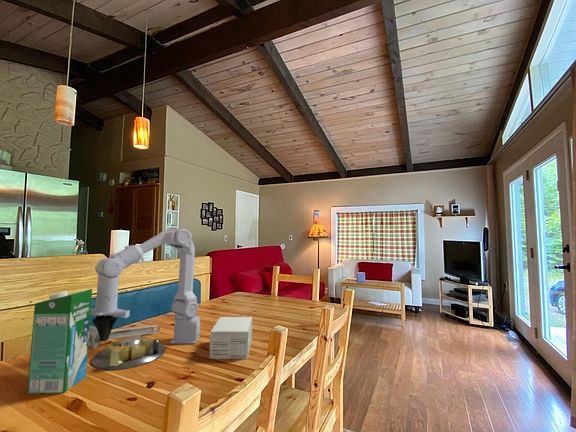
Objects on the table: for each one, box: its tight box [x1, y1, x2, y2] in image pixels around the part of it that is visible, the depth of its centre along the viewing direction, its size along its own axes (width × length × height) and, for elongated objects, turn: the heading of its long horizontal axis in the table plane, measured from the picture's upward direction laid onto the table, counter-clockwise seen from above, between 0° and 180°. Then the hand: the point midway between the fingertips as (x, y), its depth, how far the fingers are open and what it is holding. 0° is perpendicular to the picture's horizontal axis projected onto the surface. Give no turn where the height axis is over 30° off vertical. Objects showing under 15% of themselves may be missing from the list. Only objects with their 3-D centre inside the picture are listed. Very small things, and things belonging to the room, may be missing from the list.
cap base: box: [90, 336, 166, 371], centre depth 96 cm, size 22×22×5 cm
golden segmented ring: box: [107, 335, 154, 366], centre depth 94 cm, size 13×17×4 cm
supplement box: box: [209, 316, 253, 360], centre depth 102 cm, size 17×13×9 cm
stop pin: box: [153, 338, 160, 354], centre depth 96 cm, size 2×2×5 cm
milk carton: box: [26, 288, 93, 395], centre depth 77 cm, size 9×9×25 cm
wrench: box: [88, 324, 161, 350], centre depth 108 cm, size 8×2×30 cm
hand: (104, 340), depth 88 cm, fingers closed
